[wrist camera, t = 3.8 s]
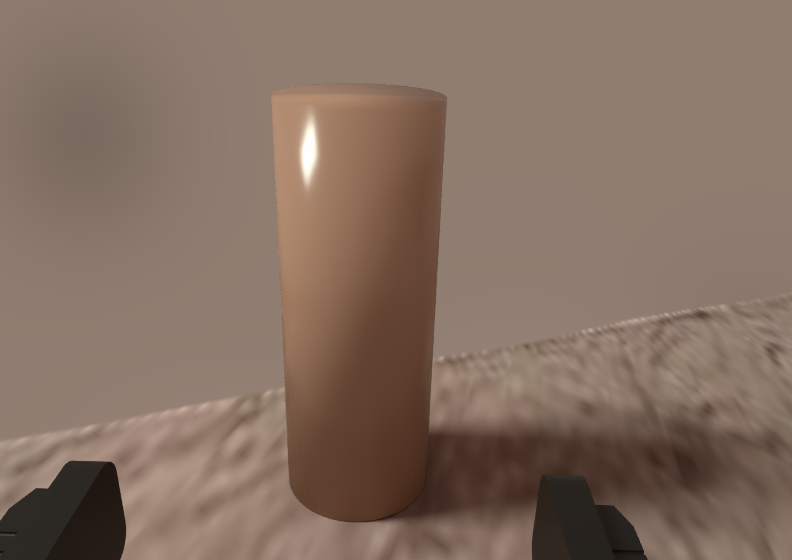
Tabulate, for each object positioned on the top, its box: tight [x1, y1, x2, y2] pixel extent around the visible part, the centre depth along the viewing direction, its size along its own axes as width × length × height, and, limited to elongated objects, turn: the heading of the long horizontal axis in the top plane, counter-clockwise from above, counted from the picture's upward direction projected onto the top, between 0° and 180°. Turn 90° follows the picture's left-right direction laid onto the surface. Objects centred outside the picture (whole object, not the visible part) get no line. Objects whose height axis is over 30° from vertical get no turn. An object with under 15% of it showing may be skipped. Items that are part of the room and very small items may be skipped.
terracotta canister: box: [271, 83, 447, 522], centre depth 23 cm, size 5×5×14 cm
